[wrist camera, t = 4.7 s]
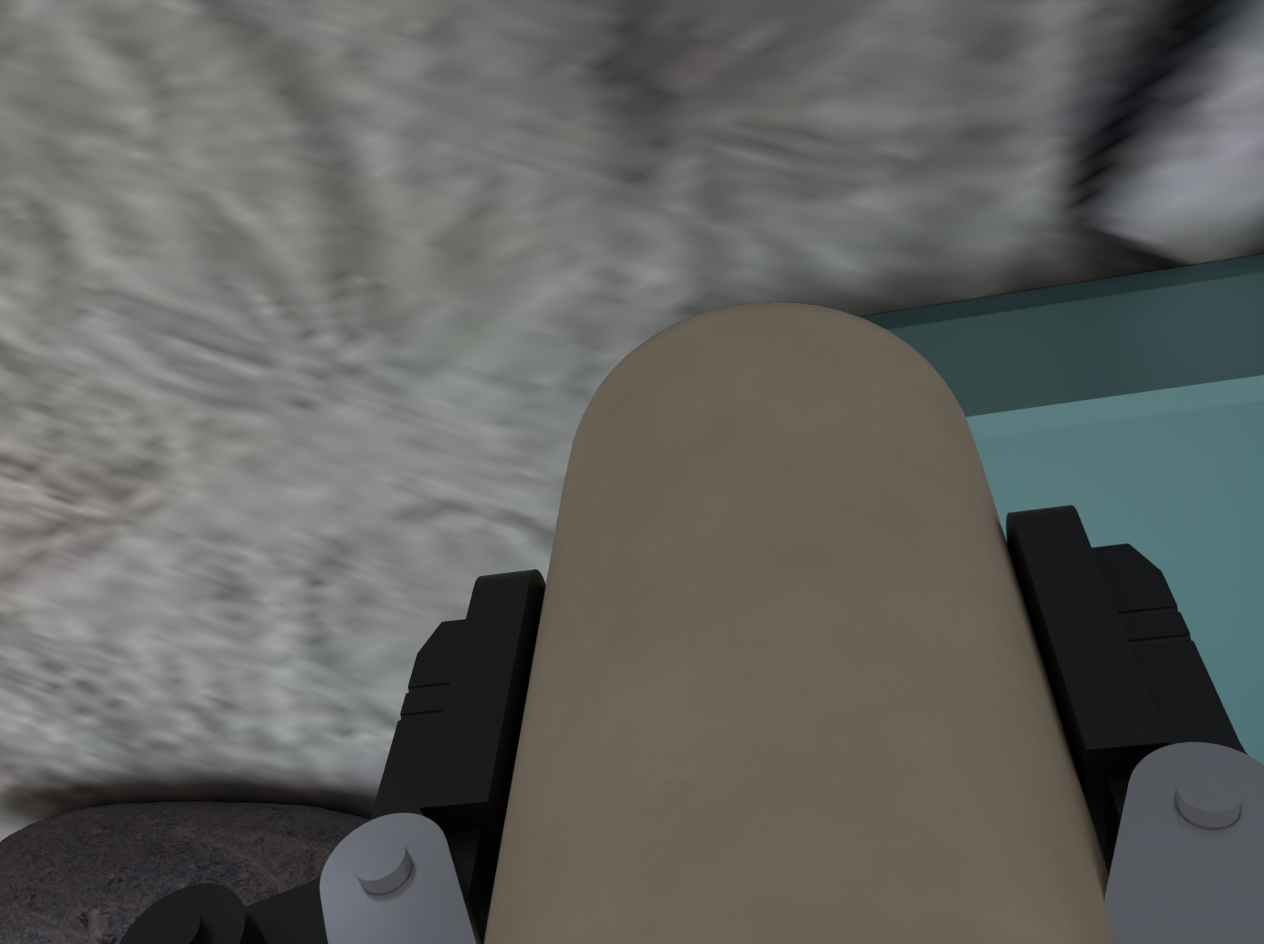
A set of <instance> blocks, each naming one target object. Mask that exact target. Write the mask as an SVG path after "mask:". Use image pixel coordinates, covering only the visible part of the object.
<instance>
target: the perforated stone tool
mask: <svg viewBox="0 0 1264 944" xmlns="http://www.w3.org/2000/svg"><path fill="white" fill-rule="evenodd" d="M369 821H370V819H366V818H363V817H359V816H355V815H351V814H347V813H341V812H334V811H331V810H328V809H323V808H318V807H314V806H305V805H291V804H286V805H284V804H277V803H272V804H271V803H253V802H218V801H200V802H195V801H185V802H152V803H121V804H110V805H101V806H95V807H89V808H84V809H79V810H74V811H71V812H67V813H63V814H59V815H56V816H53V817H50V818H47V819H45V820H42V821H39V822H36V823H33V824H30V825H28V826H26V827H25V828H23V829H21V830H19V831H17V832H15V833H13V834H11V835H9V836H8V837H6V838H5V839H3V840H2V841H1V842H0V944H119V942H120V941H121V939H122V938H123V936H124V935H125V933H126V932H127V930H128V929H129V927H130V926H131V925H132V924H133V922H134V921H135V920H136V919H137V918H138V917H139V916H140V915H141V914H142V913H143V912H144V911H145V910H146V909H148V908H149V907H150V906H151V905H153V904H154V903H155V902H157V901H158V900H159V899H161V898H163V897H165V896H166V895H168V894H170V893H172V892H174V891H176V890H179V889H181V888H184V887H188V886H191V885H196V884H202V883H213V884H218V885H223V886H225V887H227V888H230V889H231V890H232V891H234V892H235V893H236V894H237V895H238V897H239V898H240V899H241V901H242V902H243V904H244V905H245V906H248V905H250V904H253V903H256V902H258V901H261V900H264V899H266V898H269V897H272V896H274V895H277V894H280V893H282V892H285V891H288V890H290V889H293V888H295V887H298V886H301V885H303V884H305V883H308V882H310V881H312V880H314V879H316V878H318V877H319V876H321V874H322V871H323V868H324V865H325V864H326V862H327V860H328V858H329V856H330V855H331V853H332V852H333V850H334V849H335V848H336V846H337V845H338V844H339V843H340V842H341V841H342V840H343V839H344V838H345V837H346V836H348V835H349V834H350V833H351V832H352V831H354V830H355V829H357V828H358V827H360V826H361V825H363V824H365V823H367V822H369Z"/></svg>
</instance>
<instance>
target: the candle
mask: <svg viewBox="0 0 1264 944" xmlns="http://www.w3.org/2000/svg"><path fill="white" fill-rule="evenodd" d="M1108 879H1109V874H1108V871H1107V867H1106V864H1105V861H1104V858H1103V854H1102V851H1101V848H1100V845H1099V841H1098V838H1097V835H1096V832H1095V828H1094V825H1093V822H1092V819H1091V815H1090V812H1089V809H1088V806H1087V802H1086V799H1085V796H1084V793H1083V789H1082V786H1081V783H1080V780H1079V776H1078V773H1077V770H1076V767H1075V763H1074V760H1073V757H1072V754H1071V750H1070V747H1069V744H1068V741H1067V737H1066V734H1065V731H1064V727H1063V724H1062V721H1061V718H1060V714H1059V711H1058V708H1057V705H1056V701H1055V698H1054V695H1053V692H1052V688H1051V685H1050V682H1049V679H1048V675H1047V672H1046V669H1045V666H1044V662H1043V659H1042V656H1041V653H1040V649H1039V646H1038V643H1037V640H1036V636H1035V633H1034V630H1033V627H1032V623H1031V620H1030V617H1029V614H1028V610H1027V607H1026V604H1025V601H1024V597H1023V594H1022V591H1021V588H1020V584H1019V581H1018V578H1017V575H1016V571H1015V568H1014V565H1013V562H1012V558H1011V555H1010V552H1009V548H1008V545H1007V542H1006V539H1005V535H1004V532H1003V529H1002V526H1001V522H1000V519H999V516H998V513H997V509H996V506H995V503H994V500H993V496H992V493H991V490H990V487H989V483H988V480H987V477H986V474H985V470H984V467H983V464H982V461H981V459H980V456H979V453H978V450H977V447H976V444H975V441H974V438H973V436H972V433H971V430H970V427H969V425H968V422H967V420H966V417H965V415H964V412H963V410H962V408H961V407H960V405H959V403H958V402H957V400H956V398H955V397H954V395H953V393H952V392H951V390H950V389H949V387H948V386H947V384H946V383H945V381H944V380H943V378H942V377H941V376H940V375H939V374H938V372H937V371H936V370H935V369H934V368H933V366H932V365H931V364H930V363H929V362H928V361H927V360H926V359H925V358H924V357H923V356H922V355H921V354H920V353H918V352H917V351H916V350H915V349H914V348H913V347H912V346H911V345H909V344H908V343H906V342H905V341H903V340H902V339H900V338H899V337H897V336H896V335H894V334H893V333H891V332H890V331H888V330H886V329H884V328H882V327H880V326H878V325H876V324H874V323H872V322H870V321H868V320H866V319H864V318H861V317H858V316H855V315H852V314H849V313H846V312H843V311H840V310H836V309H831V308H826V307H822V306H817V305H812V304H801V303H790V302H764V303H750V304H743V305H736V306H730V307H725V308H721V309H717V310H713V311H710V312H706V313H702V314H699V315H696V316H694V317H692V318H689V319H687V320H684V321H682V322H679V323H677V324H674V325H672V326H671V327H669V328H667V329H665V330H663V331H662V332H660V333H658V334H656V335H654V336H653V337H651V338H649V339H648V340H647V341H645V342H644V343H643V344H641V345H640V346H639V347H637V348H636V349H634V350H633V351H632V352H630V353H629V354H628V355H627V356H626V357H625V358H624V359H623V360H622V361H621V362H620V363H619V364H618V365H617V366H616V367H615V368H614V369H613V370H612V371H611V372H610V374H609V375H608V376H607V378H606V379H605V380H604V381H603V383H602V384H601V385H600V386H599V388H598V389H597V391H596V393H595V395H594V396H593V398H592V400H591V402H590V403H589V405H588V407H587V409H586V411H585V413H584V415H583V417H582V419H581V421H580V424H579V427H578V429H577V432H576V435H575V437H574V440H573V444H572V449H571V453H570V458H569V463H568V468H567V472H566V477H565V482H564V487H563V492H562V497H561V502H560V508H559V514H558V519H557V525H556V531H555V537H554V542H553V548H552V554H551V559H550V565H549V571H548V577H547V582H546V588H545V594H544V600H543V605H542V611H541V617H540V623H539V628H538V634H537V640H536V645H535V651H534V657H533V663H532V668H531V674H530V680H529V686H528V691H527V697H526V703H525V709H524V714H523V720H522V726H521V732H520V737H519V743H518V749H517V754H516V760H515V766H514V772H513V777H512V783H511V789H510V795H509V800H508V806H507V812H506V818H505V823H504V829H503V835H502V841H501V846H500V852H499V858H498V863H497V869H496V875H495V881H494V886H493V892H492V898H491V904H490V909H489V915H488V921H487V927H486V932H485V938H484V944H1116V940H1115V936H1114V933H1113V930H1112V926H1111V923H1110V920H1109V916H1108V913H1107V909H1106V906H1105V903H1104V898H1105V894H1106V889H1107V884H1108Z"/></svg>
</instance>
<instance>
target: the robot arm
mask: <svg viewBox="0 0 1264 944" xmlns="http://www.w3.org/2000/svg"><path fill="white" fill-rule="evenodd" d="M1006 541H1007V545H1008V548H1009V552H1010V555H1011V558H1012V562H1013V565H1014V568H1015V571H1016V575H1017V578H1018V581H1019V584H1020V588H1021V591H1022V594H1023V597H1024V601H1025V604H1026V607H1027V610H1028V614H1029V617H1030V620H1031V623H1032V627H1033V630H1034V633H1035V636H1036V640H1037V643H1038V646H1039V649H1040V653H1041V656H1042V659H1043V662H1044V666H1045V669H1046V672H1047V675H1048V679H1049V682H1050V685H1051V688H1052V692H1053V695H1054V698H1055V701H1056V705H1057V708H1058V711H1059V714H1060V718H1061V721H1062V724H1063V727H1064V731H1065V734H1066V737H1067V741H1068V744H1069V747H1070V750H1071V754H1072V757H1073V760H1074V763H1075V767H1076V770H1077V773H1078V776H1079V780H1080V783H1081V786H1082V789H1083V793H1084V796H1085V799H1086V802H1087V806H1088V809H1089V812H1090V815H1091V819H1092V822H1093V825H1094V828H1095V832H1096V835H1097V838H1098V841H1099V845H1100V848H1101V851H1102V854H1103V858H1104V861H1105V864H1106V867H1107V871H1108V874H1109V879H1108V884H1107V889H1106V894H1105V898H1104V903H1105V906H1106V909H1107V913H1108V916H1109V920H1110V923H1111V926H1112V930H1113V933H1114V936H1115V940H1116V944H1264V765H1263V764H1261V763H1260V762H1259V761H1257V760H1256V759H1254V758H1252V757H1250V756H1249V755H1248V754H1247V753H1246V752H1245V750H1244V748H1243V746H1242V745H1241V743H1240V741H1239V739H1238V737H1237V735H1236V732H1235V730H1234V728H1233V726H1232V724H1231V722H1230V719H1229V717H1228V715H1227V713H1226V711H1225V708H1224V706H1223V704H1222V702H1221V700H1220V697H1219V695H1218V693H1217V691H1216V689H1215V687H1214V684H1213V682H1212V680H1211V678H1210V676H1209V673H1208V671H1207V669H1206V667H1205V665H1204V662H1203V660H1202V658H1201V656H1200V654H1199V652H1198V649H1197V647H1196V645H1195V643H1194V641H1191V637H1190V632H1189V630H1188V627H1187V625H1186V623H1185V621H1184V619H1183V616H1182V614H1181V612H1178V607H1177V603H1176V601H1175V599H1174V597H1173V595H1172V592H1171V590H1170V588H1169V586H1168V584H1167V581H1166V579H1165V577H1164V575H1163V573H1162V571H1161V570H1160V569H1159V568H1157V567H1156V566H1155V565H1154V564H1153V563H1151V562H1150V561H1149V560H1148V559H1147V558H1146V557H1144V556H1143V555H1142V554H1141V553H1140V552H1138V551H1137V550H1136V549H1135V548H1134V547H1133V546H1131V545H1130V544H1129V543H1126V544H1118V545H1109V546H1101V547H1091V545H1090V542H1089V539H1088V537H1087V534H1086V532H1085V529H1084V527H1083V524H1082V522H1081V519H1080V517H1079V514H1078V512H1077V510H1076V508H1075V507H1074V506H1073V505H1067V506H1059V507H1051V508H1042V509H1034V510H1026V511H1018V512H1010V513H1007V517H1006ZM545 588H546V584H545V582H544V579H543V577H542V575H541V573H540V572H539V571H538V570H536V569H534V570H526V571H518V572H510V573H502V574H494V575H486V576H480V577H478V578H477V580H476V582H475V585H474V588H473V592H472V596H471V601H470V605H469V609H468V613H467V617H466V619H463V620H455V621H446V622H441V624H440V625H439V626H438V628H437V629H436V630H435V631H434V633H433V634H432V635H431V637H430V638H429V639H428V640H427V642H426V643H425V644H424V646H423V647H422V648H421V650H420V651H419V652H418V653H417V657H416V660H415V664H414V667H413V671H412V674H411V678H410V681H409V685H408V689H409V693H406V695H405V699H404V702H403V706H402V710H401V713H400V715H401V721H398V724H397V727H396V731H395V734H394V738H393V741H392V745H391V748H390V752H389V755H388V759H387V762H386V766H385V769H384V773H383V776H382V780H381V783H380V787H379V790H378V794H377V797H376V801H375V804H374V808H373V811H372V815H371V818H370V821H369V822H367V823H365V824H363V825H361V826H360V827H358V828H357V829H355V830H354V831H352V832H351V833H350V834H349V835H348V836H346V837H345V838H344V839H343V840H342V841H341V842H340V843H339V844H338V845H337V846H336V848H335V849H334V850H333V852H332V853H331V855H330V856H329V858H328V860H327V862H326V864H325V865H324V868H323V871H322V874H321V876H319V877H318V878H316V879H314V880H312V881H310V882H308V883H305V884H303V885H301V886H298V887H295V888H293V889H290V890H288V891H285V892H282V893H280V894H277V895H274V896H272V897H269V898H266V899H264V900H261V901H258V902H256V903H253V904H250V905H248V906H245V905H244V904H243V902H242V901H241V899H240V898H239V897H238V895H237V894H236V893H235V892H234V891H232V890H231V889H230V888H227V887H225V886H223V885H218V884H213V883H202V884H196V885H191V886H188V887H184V888H181V889H179V890H176V891H174V892H172V893H170V894H168V895H166V896H165V897H163V898H161V899H159V900H158V901H157V902H155V903H154V904H153V905H151V906H150V907H149V908H148V909H146V910H145V911H144V912H143V913H142V914H141V915H140V916H139V917H138V918H137V919H136V920H135V921H134V922H133V924H132V925H131V926H130V927H129V929H128V930H127V932H126V933H125V935H124V936H123V938H122V939H121V941H120V942H119V944H484V938H485V932H486V927H487V921H488V915H489V909H490V904H491V898H492V892H493V886H494V881H495V875H496V869H497V863H498V858H499V852H500V846H501V841H502V835H503V829H504V823H505V818H506V812H507V806H508V800H509V795H510V789H511V783H512V777H513V772H514V766H515V760H516V754H517V749H518V743H519V737H520V732H521V726H522V720H523V714H524V709H525V703H526V697H527V691H528V686H529V680H530V674H531V668H532V663H533V657H534V651H535V645H536V640H537V634H538V628H539V623H540V617H541V611H542V605H543V600H544V594H545Z"/></svg>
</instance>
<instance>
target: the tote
mask: <svg viewBox="0 0 1264 944" xmlns="http://www.w3.org/2000/svg"><path fill="white" fill-rule="evenodd" d="M861 318H864V319H866V320H868V321H870V322H872V323H874V324H876V325H878V326H880V327H882V328H884V329H886V330H888V331H890V332H891V333H893V334H894V335H896V336H897V337H899V338H900V339H902V340H903V341H905V342H906V343H908V344H909V345H911V346H912V347H913V348H914V349H915V350H916V351H917V352H918V353H920V354H921V355H922V356H923V357H924V358H925V359H926V360H927V361H928V362H929V363H930V364H931V365H932V366H933V368H934V369H935V370H936V371H937V372H938V374H939V375H940V376H941V377H942V378H943V380H944V381H945V383H946V384H947V386H948V387H949V389H950V390H951V392H952V393H953V395H954V397H955V398H956V400H957V402H958V403H959V405H960V407H961V408H962V410H963V412H964V415H965V417H966V420H967V422H968V425H969V427H970V430H971V433H972V436H973V438H974V441H975V444H976V447H977V450H978V453H979V456H980V459H981V461H982V464H983V467H984V470H985V474H986V477H987V480H988V483H989V487H990V490H991V493H992V496H993V500H994V503H995V506H996V509H997V513H998V516H999V519H1000V522H1001V526H1002V529H1003V532H1004V535H1005V539H1006V517H1007V513H1010V512H1018V511H1026V510H1034V509H1042V508H1051V507H1059V506H1067V505H1073V506H1074V507H1075V508H1076V510H1077V512H1078V514H1079V517H1080V519H1081V522H1082V524H1083V527H1084V529H1085V532H1086V534H1087V537H1088V539H1089V542H1090V545H1091V547H1101V546H1109V545H1118V544H1126V543H1129V544H1130V545H1131V546H1133V547H1134V548H1135V549H1136V550H1137V551H1138V552H1140V553H1141V554H1142V555H1143V556H1144V557H1146V558H1147V559H1148V560H1149V561H1150V562H1151V563H1153V564H1154V565H1155V566H1156V567H1157V568H1159V569H1160V570H1161V571H1162V573H1163V575H1164V577H1165V579H1166V581H1167V584H1168V586H1169V588H1170V590H1171V592H1172V595H1173V597H1174V599H1175V601H1176V603H1177V607H1178V612H1181V614H1182V616H1183V619H1184V621H1185V623H1186V625H1187V627H1188V630H1189V632H1190V637H1191V641H1194V643H1195V645H1196V647H1197V649H1198V652H1199V654H1200V656H1201V658H1202V660H1203V662H1204V665H1205V667H1206V669H1207V671H1208V673H1209V676H1210V678H1211V680H1212V682H1213V684H1214V687H1215V689H1216V691H1217V693H1218V695H1219V697H1220V700H1221V702H1222V704H1223V706H1224V708H1225V711H1226V713H1227V715H1228V717H1229V719H1230V722H1231V724H1232V726H1233V728H1234V730H1235V732H1236V735H1237V737H1238V739H1239V741H1240V743H1241V745H1242V746H1243V748H1244V750H1245V752H1246V753H1247V754H1248V755H1249V756H1250V757H1252V758H1254V759H1256V760H1257V761H1259V762H1260V763H1261V764H1263V765H1264V254H1261V255H1254V256H1248V257H1241V258H1235V259H1229V260H1222V261H1216V262H1209V263H1203V264H1196V265H1190V266H1184V267H1177V268H1171V269H1164V270H1158V271H1151V272H1145V273H1138V274H1132V275H1126V276H1119V277H1113V278H1106V279H1100V280H1093V281H1087V282H1081V283H1074V284H1068V285H1061V286H1055V287H1048V288H1042V289H1035V290H1029V291H1023V292H1016V293H1010V294H1003V295H997V296H990V297H984V298H977V299H971V300H965V301H958V302H952V303H945V304H939V305H932V306H926V307H920V308H913V309H907V310H900V311H894V312H887V313H881V314H874V315H868V316H862V317H861ZM1006 542H1007V541H1006Z"/></svg>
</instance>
